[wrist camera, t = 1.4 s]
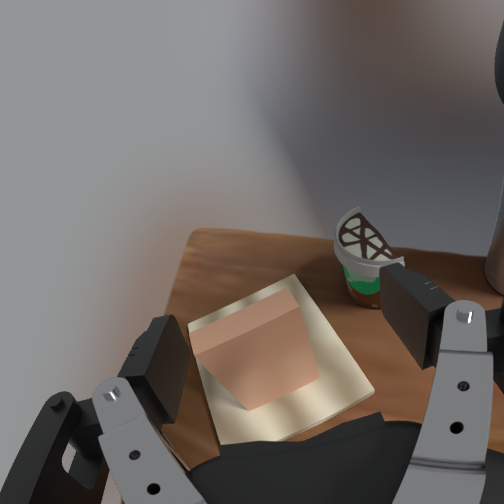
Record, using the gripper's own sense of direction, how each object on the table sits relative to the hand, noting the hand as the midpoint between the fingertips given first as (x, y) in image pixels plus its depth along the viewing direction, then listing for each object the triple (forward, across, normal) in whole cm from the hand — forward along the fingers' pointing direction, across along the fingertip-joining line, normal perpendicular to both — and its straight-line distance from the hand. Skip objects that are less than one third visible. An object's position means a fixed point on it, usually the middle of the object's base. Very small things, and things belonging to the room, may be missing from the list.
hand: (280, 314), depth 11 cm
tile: (+15, +2, +19) cm, 25 cm away
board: (+20, +3, +19) cm, 28 cm away
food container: (+26, -12, +16) cm, 33 cm away
